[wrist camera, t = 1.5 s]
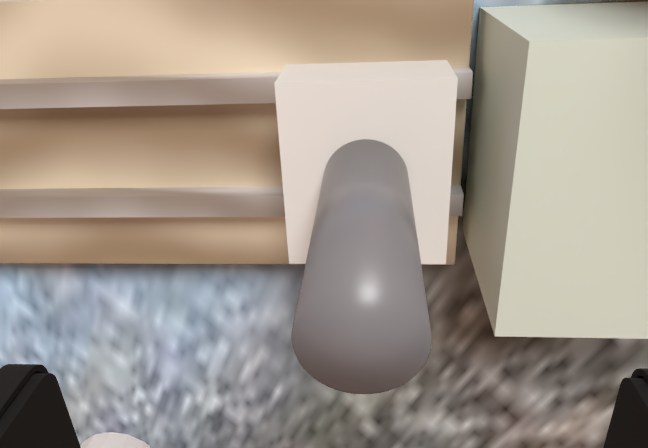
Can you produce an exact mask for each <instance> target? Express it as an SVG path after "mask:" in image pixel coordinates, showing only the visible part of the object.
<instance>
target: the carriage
mask: <svg viewBox="0 0 648 448" xmlns="http://www.w3.org/2000/svg"><path fill="white" fill-rule="evenodd" d="M457 84H458V78H457V76H456V74H455V73H454V71H453V69H452V68H451V66H450V64H449V62H448V61H447V60H428V61H392V62H356V63H320V64H286V66H285V67H284V69H283V71H282V72H281V74H280V75H279V77H278V78H277V80H276V81H275V83H274V86H275V98H276V110H277V122H278V134H279V147H280V159H281V171H282V183H283V195H284V207H285V220H286V232H287V244H288V256H289V264H305V269H304V274H303V279H302V284H301V289H300V293H299V298H298V303H297V308H296V313H295V318H294V323H293V328H292V345H293V349H294V352H295V355H296V357H297V359H298V361H299V362H300V364H301V365H302V367H303V368H304V369H305V370H306V371H307V372H308V373H309V374H310V375H311V376H312V377H313V378H315V379H316V380H318V381H319V382H321V383H322V384H324V385H326V386H328V387H331V388H333V389H336V390H339V391H343V392H347V393H353V394H374V393H380V392H385V391H389V390H391V389H394V388H397V387H399V386H401V385H403V384H405V383H406V382H408V381H409V380H411V379H412V378H413V377H414V376H415V375H416V374H417V373H418V372H419V371H420V370H421V369H422V368H423V366H424V365H425V363H426V361H427V359H428V357H429V354H430V351H431V345H432V334H431V328H430V321H429V314H428V307H427V300H426V293H425V287H424V280H423V273H422V266H421V264H446V254H447V238H448V223H449V207H450V192H451V176H452V161H453V145H454V130H455V115H456V99H457Z"/></svg>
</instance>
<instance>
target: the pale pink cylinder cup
mask: <svg viewBox="0 0 648 448" xmlns="http://www.w3.org/2000/svg"><path fill="white" fill-rule="evenodd" d="M80 447H81V448H151V447H150V446H149V445H148V444H146V443H145V442H144V441H141V440H139V439H137V438H135V437H132V436H130V435H127V434H120V433H114V432H108V433H101V434H95V435H93V436H92V437H90V438H88V439H87V440H85V441H84V442H83V443H82V445H81V446H80Z"/></svg>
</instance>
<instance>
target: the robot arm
mask: <svg viewBox="0 0 648 448" xmlns="http://www.w3.org/2000/svg"><path fill="white" fill-rule="evenodd" d="M0 448H81V447H80V444H79V442H78V439H77V436H76V433H75V430H74V427H73V424H72V422H71V419H70V416H69V413H68V410H67V407H66V404H65V402H64V399H63V396H62V393H61V390H60V387H59V384H58V381H57V379H56V377H55V375H53V374H51V373H48V371H47V369H46V368H45V367H44V366H43V365H28V364H8V365H5V366H3V367H2V368H1V369H0ZM604 448H648V369H636V370H635V371H634V372H633V374H632V376H631V378H624V379H623V380H622V382H621V385H620V388H619V392H618V396H617V399H616V403H615V407H614V411H613V414H612V418H611V422H610V425H609V429H608V433H607V437H606V440H605V444H604Z"/></svg>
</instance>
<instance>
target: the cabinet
mask: <svg viewBox="0 0 648 448" xmlns="http://www.w3.org/2000/svg"><path fill="white" fill-rule="evenodd" d="M463 234H464V237H465V240H466V243H467V247H468V250H469V253H470V257H471V260H472V263H473V267H474V270H475V273H476V277H477V280H478V283H479V286H480V290H481V293H482V296H483V300H484V303H485V306H486V310H487V313H488V316H489V320H490V323H491V326H492V329H493V333H494V336H499V337H569V338H639V339H648V1H642V2H614V3H586V4H558V5H530V6H501V7H480V13H479V26H478V38H477V51H476V64H475V77H474V90H473V103H472V115H471V128H470V141H469V154H468V167H467V180H466V192H465V205H464V218H463Z"/></svg>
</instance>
